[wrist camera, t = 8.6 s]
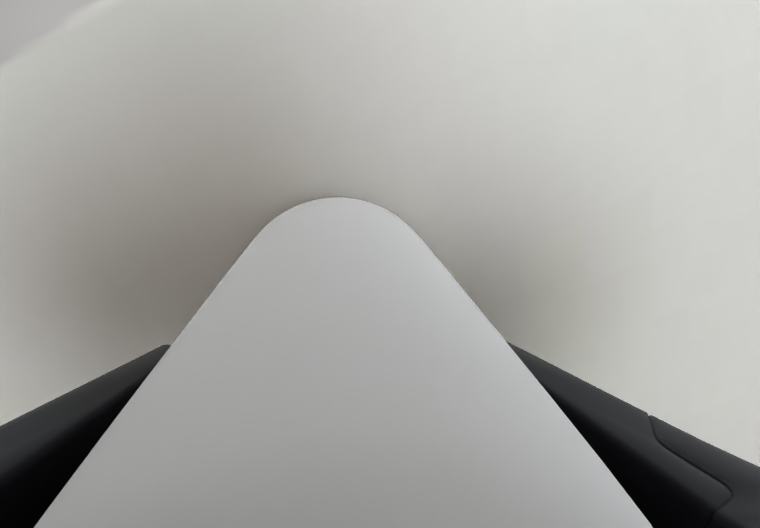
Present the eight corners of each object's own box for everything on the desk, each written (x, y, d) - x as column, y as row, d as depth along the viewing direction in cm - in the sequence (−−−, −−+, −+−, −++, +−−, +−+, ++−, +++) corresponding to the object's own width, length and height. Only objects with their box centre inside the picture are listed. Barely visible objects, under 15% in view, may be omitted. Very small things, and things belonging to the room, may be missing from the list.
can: (251, 377, 14) (-105, 1419, 3) (229, 195, 12) (-1827, 1414, 1) (428, 366, 15) (751, 1163, 3) (436, 192, 13) (1355, 728, 1)
